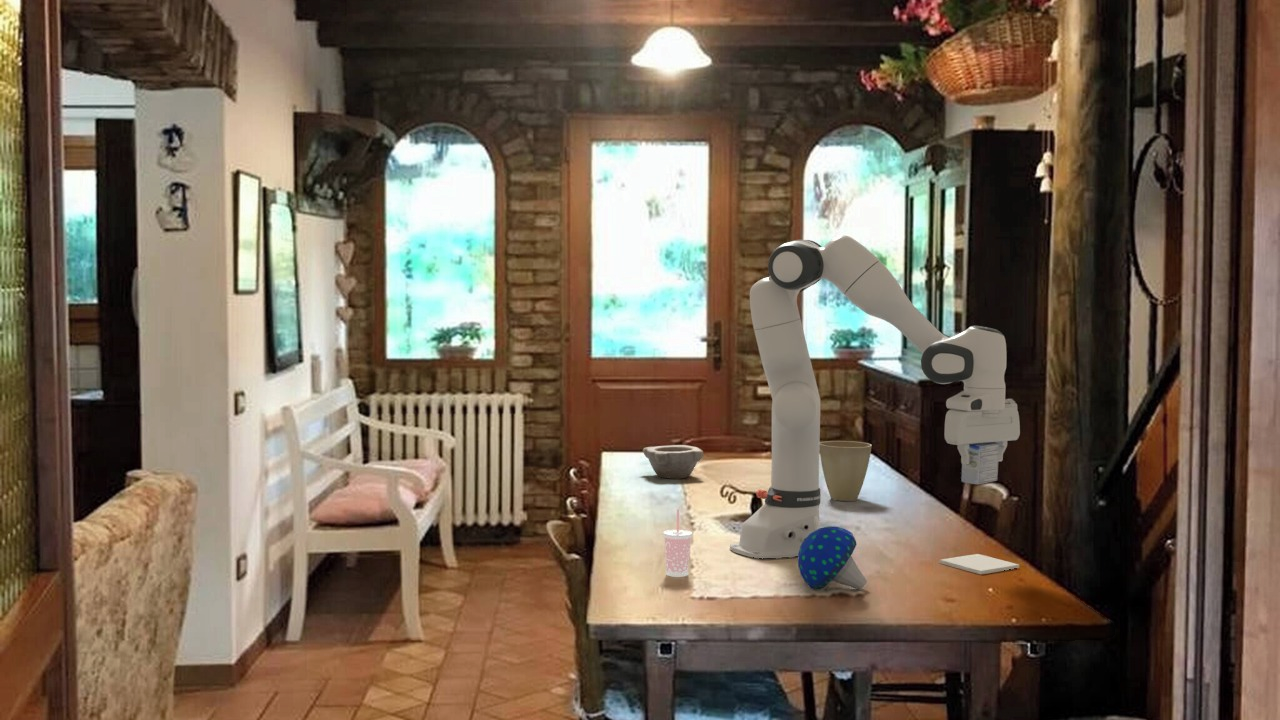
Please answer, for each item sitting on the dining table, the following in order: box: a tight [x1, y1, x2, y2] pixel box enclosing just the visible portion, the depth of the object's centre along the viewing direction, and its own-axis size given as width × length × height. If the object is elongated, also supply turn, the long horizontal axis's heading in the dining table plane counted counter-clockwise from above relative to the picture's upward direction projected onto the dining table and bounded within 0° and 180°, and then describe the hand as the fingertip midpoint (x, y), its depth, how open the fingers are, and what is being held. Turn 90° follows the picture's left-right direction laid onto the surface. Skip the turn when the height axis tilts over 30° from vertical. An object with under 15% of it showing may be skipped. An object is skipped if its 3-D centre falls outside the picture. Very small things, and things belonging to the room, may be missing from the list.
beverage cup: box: [663, 508, 693, 578], centre depth 262 cm, size 6×6×14 cm
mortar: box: [642, 444, 704, 480], centre depth 389 cm, size 17×17×9 cm
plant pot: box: [819, 440, 873, 502], centre depth 353 cm, size 15×15×16 cm
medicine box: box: [960, 442, 999, 485], centre depth 272 cm, size 8×4×9 cm, turn 133°
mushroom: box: [797, 525, 868, 591], centre depth 252 cm, size 14×14×15 cm
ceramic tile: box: [939, 553, 1020, 575], centre depth 274 cm, size 12×12×1 cm
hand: (982, 462), depth 272 cm, fingers closed on medicine box, 8 cm apart
